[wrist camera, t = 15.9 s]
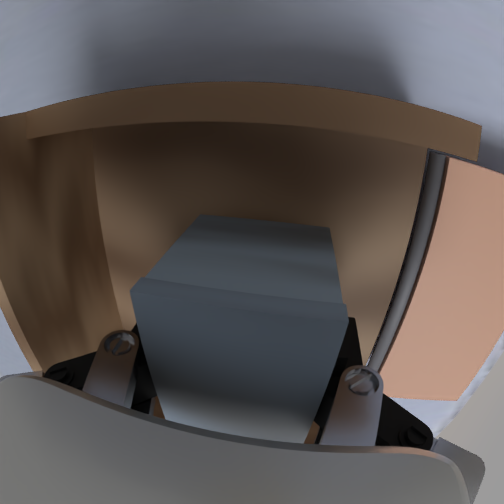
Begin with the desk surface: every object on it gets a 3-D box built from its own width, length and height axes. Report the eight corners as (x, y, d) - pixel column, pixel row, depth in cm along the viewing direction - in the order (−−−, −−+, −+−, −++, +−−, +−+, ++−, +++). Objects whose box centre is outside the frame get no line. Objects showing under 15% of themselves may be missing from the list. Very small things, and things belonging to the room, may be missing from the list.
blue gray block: (198, 212, 11) (129, 290, 6) (331, 226, 10) (348, 321, 6) (206, 352, 14) (172, 438, 9) (302, 366, 13) (295, 460, 9)
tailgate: (432, 153, 9) (554, 196, 7) (427, 150, 10) (546, 191, 8) (356, 393, 15) (456, 400, 14) (357, 383, 16) (454, 391, 14)
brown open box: (100, 104, 12) (-41, 130, 5) (413, 117, 11) (547, 143, 3) (134, 344, 20) (79, 436, 12) (347, 377, 18) (351, 494, 10)
